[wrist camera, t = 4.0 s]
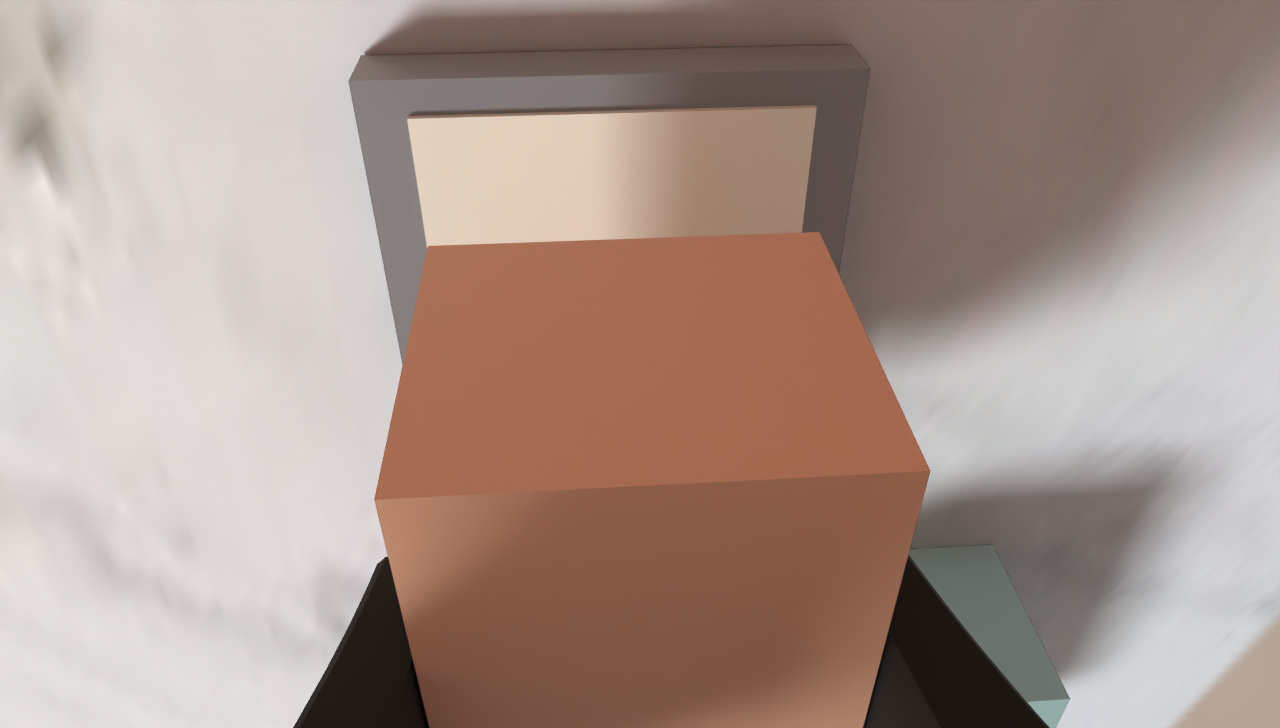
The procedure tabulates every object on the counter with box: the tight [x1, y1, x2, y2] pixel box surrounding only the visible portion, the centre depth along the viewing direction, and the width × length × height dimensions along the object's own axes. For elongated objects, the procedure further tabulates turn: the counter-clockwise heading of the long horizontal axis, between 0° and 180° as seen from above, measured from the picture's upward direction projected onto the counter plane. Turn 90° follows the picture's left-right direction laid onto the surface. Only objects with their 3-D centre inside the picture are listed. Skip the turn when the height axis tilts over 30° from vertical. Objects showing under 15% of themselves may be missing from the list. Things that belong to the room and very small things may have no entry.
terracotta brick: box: [374, 232, 930, 728], centre depth 11 cm, size 7×4×4 cm, turn 0°
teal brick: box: [909, 545, 1070, 728], centre depth 21 cm, size 7×4×4 cm, turn 0°
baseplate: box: [349, 44, 870, 364], centre depth 16 cm, size 9×7×1 cm
